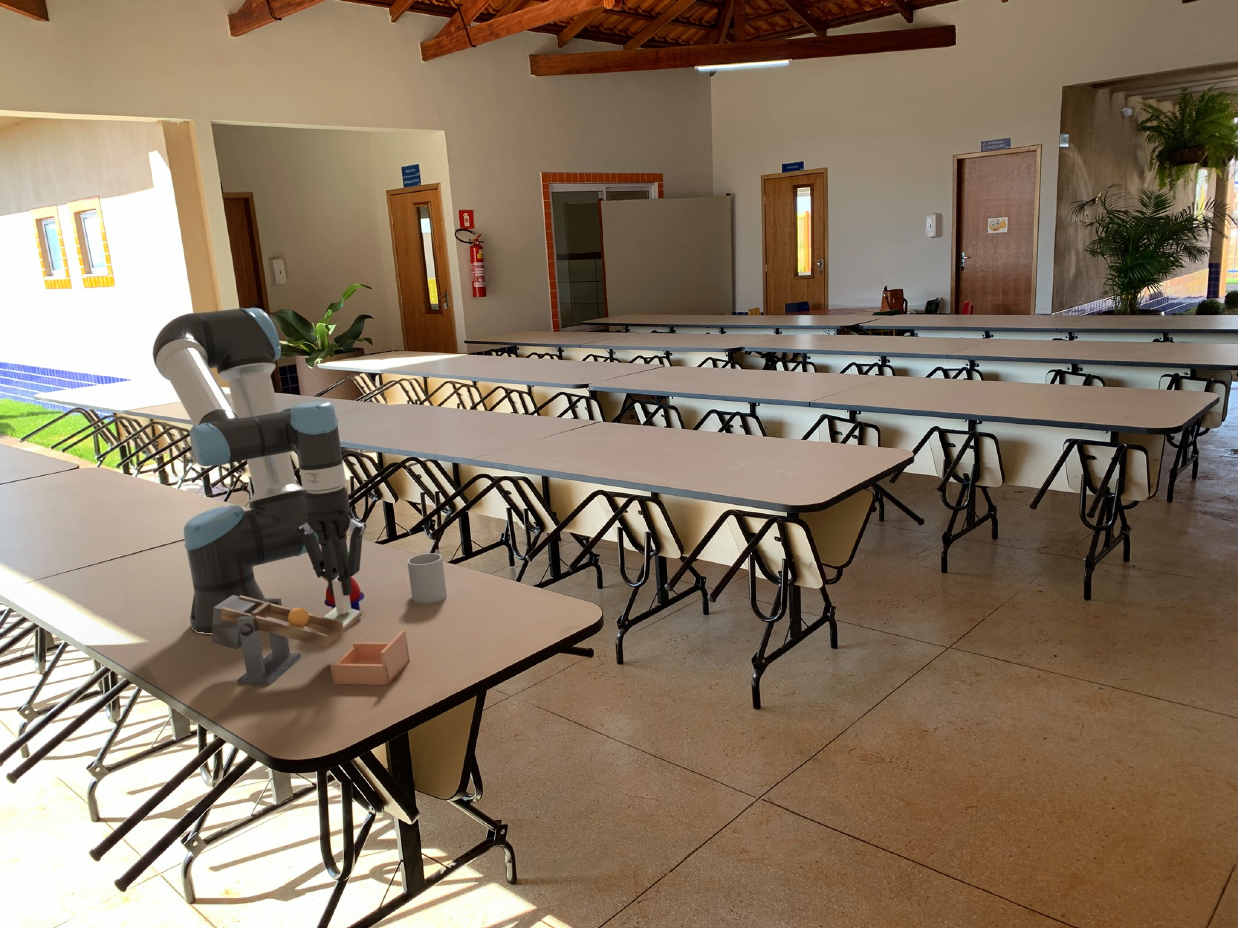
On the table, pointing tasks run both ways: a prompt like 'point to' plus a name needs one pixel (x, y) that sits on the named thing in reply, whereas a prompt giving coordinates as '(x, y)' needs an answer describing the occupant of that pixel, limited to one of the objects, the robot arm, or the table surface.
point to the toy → (354, 596)
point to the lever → (276, 622)
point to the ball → (298, 617)
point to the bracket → (255, 665)
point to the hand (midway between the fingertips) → (344, 611)
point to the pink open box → (372, 662)
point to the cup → (427, 578)
